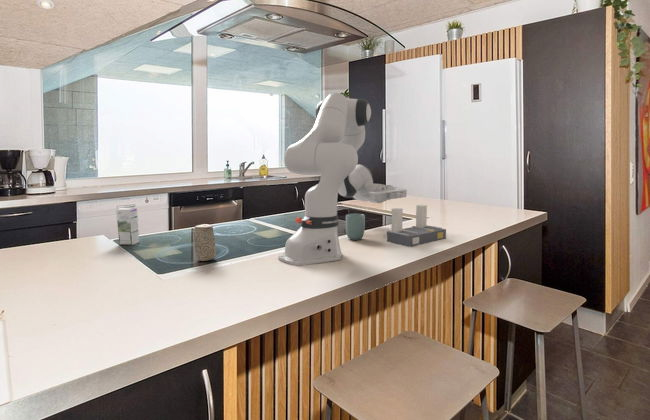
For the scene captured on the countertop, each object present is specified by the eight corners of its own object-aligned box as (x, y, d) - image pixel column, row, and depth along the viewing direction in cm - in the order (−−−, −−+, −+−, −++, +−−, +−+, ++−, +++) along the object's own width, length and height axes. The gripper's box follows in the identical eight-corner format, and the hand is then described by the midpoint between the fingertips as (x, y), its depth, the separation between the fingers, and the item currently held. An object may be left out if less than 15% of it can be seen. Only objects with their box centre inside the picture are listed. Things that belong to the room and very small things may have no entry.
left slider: (397, 232, 167) (397, 209, 166) (391, 230, 170) (391, 208, 168) (402, 231, 169) (402, 208, 168) (396, 230, 171) (396, 207, 170)
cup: (365, 241, 172) (365, 216, 170) (346, 241, 172) (346, 216, 171) (364, 237, 180) (364, 213, 178) (345, 237, 180) (345, 213, 178)
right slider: (421, 227, 177) (422, 205, 175) (416, 226, 179) (416, 205, 178) (426, 226, 178) (426, 205, 177) (420, 225, 181) (421, 204, 179)
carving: (202, 257, 149) (200, 223, 147) (220, 259, 146) (219, 224, 144) (190, 261, 143) (188, 226, 141) (209, 263, 140) (207, 227, 138)
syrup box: (140, 242, 174) (137, 206, 172) (132, 245, 168) (129, 208, 166) (126, 241, 175) (124, 206, 173) (118, 245, 169) (115, 208, 167)
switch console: (410, 247, 161) (411, 235, 160) (386, 241, 170) (386, 230, 169) (446, 239, 174) (446, 228, 173) (422, 234, 184) (422, 224, 183)
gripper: (361, 188, 190) (384, 190, 179) (392, 185, 203) (415, 187, 192) (361, 202, 191) (383, 205, 180) (392, 198, 204) (415, 201, 193)
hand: (400, 196), depth 186 cm, fingers closed
